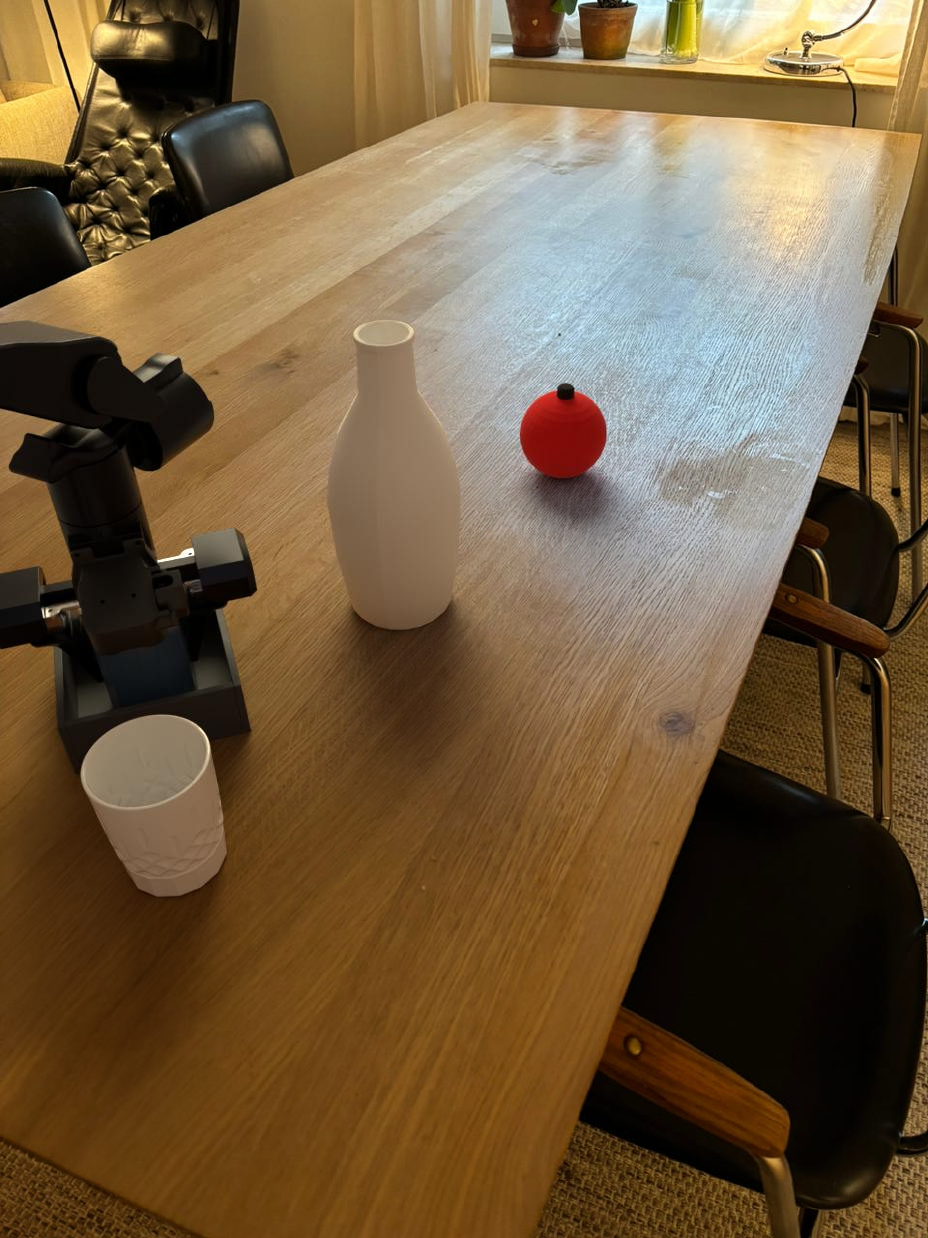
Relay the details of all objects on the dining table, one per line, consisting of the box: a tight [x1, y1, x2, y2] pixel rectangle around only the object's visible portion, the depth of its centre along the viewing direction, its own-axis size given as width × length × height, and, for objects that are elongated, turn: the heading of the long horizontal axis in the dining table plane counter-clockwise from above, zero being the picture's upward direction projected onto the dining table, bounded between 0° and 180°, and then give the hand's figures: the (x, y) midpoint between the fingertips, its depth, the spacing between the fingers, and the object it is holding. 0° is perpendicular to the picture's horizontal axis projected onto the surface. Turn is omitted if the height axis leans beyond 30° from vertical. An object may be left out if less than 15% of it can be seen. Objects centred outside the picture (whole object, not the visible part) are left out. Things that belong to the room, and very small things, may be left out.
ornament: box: [519, 382, 608, 479], centre depth 102 cm, size 9×9×10 cm
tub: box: [53, 608, 252, 775], centre depth 79 cm, size 13×13×5 cm
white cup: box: [80, 715, 228, 898], centre depth 65 cm, size 8×8×10 cm
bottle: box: [326, 319, 462, 631], centre depth 81 cm, size 11×11×25 cm
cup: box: [89, 617, 197, 709], centre depth 77 cm, size 7×7×8 cm
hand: (148, 668), depth 79 cm, fingers closed on cup, 7 cm apart
